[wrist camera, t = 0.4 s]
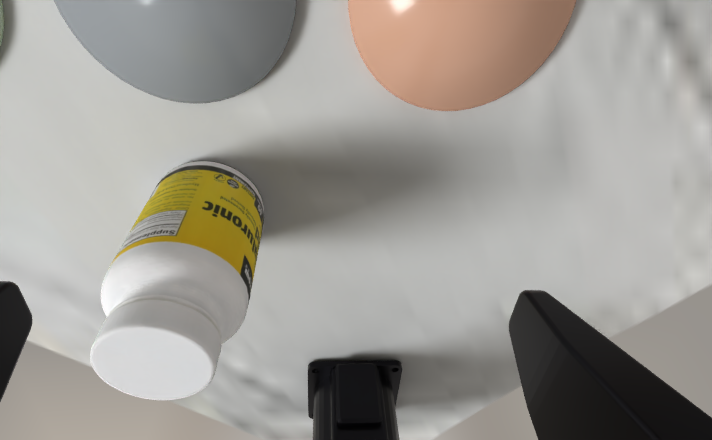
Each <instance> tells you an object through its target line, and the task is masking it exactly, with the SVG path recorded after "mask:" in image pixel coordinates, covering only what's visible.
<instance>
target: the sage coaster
mask: <svg viewBox="0 0 712 440" xmlns="http://www.w3.org/2000/svg"><path fill="white" fill-rule="evenodd" d="M3 32H4V10H3V4H2V0H0V46H1V43H2V40H3Z"/></svg>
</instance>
